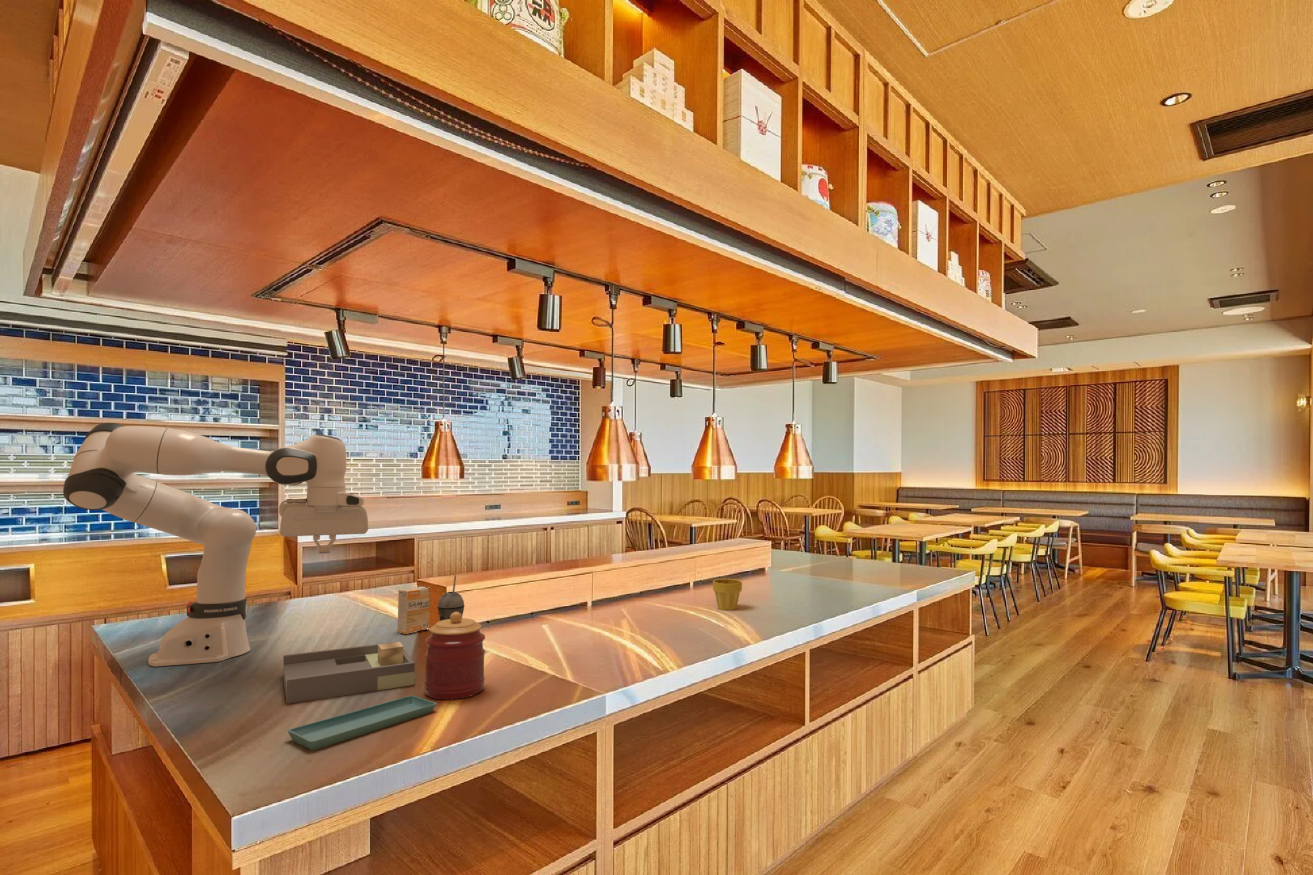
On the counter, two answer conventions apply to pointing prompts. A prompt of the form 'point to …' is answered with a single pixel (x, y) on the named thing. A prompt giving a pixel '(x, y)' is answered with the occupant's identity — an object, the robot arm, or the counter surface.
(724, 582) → the plant pot
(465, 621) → the canister
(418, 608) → the supplement box
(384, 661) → the birch block
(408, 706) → the rectangular tray
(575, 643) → the counter surface
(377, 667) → the trap board
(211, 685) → the counter surface
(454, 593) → the beverage cup
